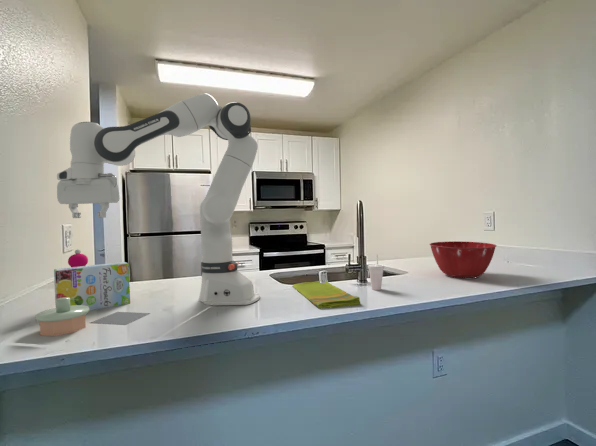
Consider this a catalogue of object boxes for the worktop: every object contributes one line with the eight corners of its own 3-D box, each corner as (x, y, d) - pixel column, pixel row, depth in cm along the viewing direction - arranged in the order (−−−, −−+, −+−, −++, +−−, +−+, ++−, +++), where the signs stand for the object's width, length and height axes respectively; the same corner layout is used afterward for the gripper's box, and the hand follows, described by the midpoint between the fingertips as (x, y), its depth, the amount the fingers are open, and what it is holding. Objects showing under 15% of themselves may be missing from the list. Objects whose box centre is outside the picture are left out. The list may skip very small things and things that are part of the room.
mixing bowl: (503, 283, 139) (502, 247, 139) (430, 280, 149) (430, 246, 149) (490, 272, 166) (490, 241, 165) (429, 269, 176) (429, 241, 175)
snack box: (126, 302, 121) (125, 261, 121) (130, 305, 117) (129, 262, 116) (55, 314, 108) (53, 268, 107) (56, 317, 103) (54, 270, 103)
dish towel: (318, 310, 107) (318, 301, 107) (291, 288, 142) (291, 280, 141) (361, 306, 111) (361, 296, 111) (325, 285, 146) (325, 278, 146)
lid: (99, 309, 95) (98, 293, 95) (62, 322, 84) (61, 305, 84) (64, 307, 98) (64, 292, 98) (23, 320, 86) (23, 303, 86)
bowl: (94, 325, 95) (93, 310, 95) (62, 338, 85) (62, 321, 85) (65, 324, 97) (64, 308, 97) (31, 336, 87) (30, 319, 87)
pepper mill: (88, 301, 123) (87, 247, 123) (93, 304, 118) (91, 249, 118) (65, 305, 118) (63, 249, 118) (69, 308, 113) (67, 250, 113)
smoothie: (386, 290, 130) (385, 255, 130) (370, 291, 130) (369, 255, 130) (382, 287, 137) (381, 253, 136) (366, 287, 137) (366, 254, 136)
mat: (150, 315, 104) (150, 313, 104) (125, 326, 93) (125, 324, 93) (117, 313, 106) (117, 311, 106) (89, 324, 96) (89, 322, 96)
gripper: (123, 174, 105) (124, 217, 106) (69, 176, 109) (71, 218, 110) (108, 171, 99) (109, 217, 99) (52, 174, 103) (53, 218, 104)
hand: (89, 217), depth 105 cm, fingers open, 8 cm apart
